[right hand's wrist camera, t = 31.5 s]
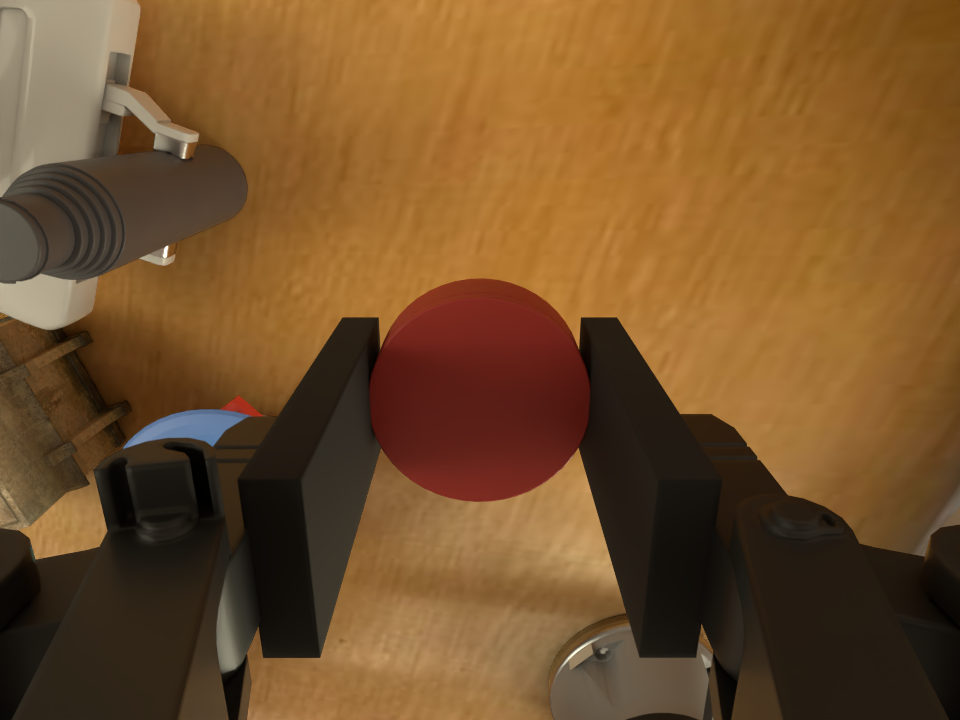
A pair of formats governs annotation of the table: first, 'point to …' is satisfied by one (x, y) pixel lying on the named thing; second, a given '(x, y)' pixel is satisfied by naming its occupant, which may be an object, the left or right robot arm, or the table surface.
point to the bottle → (112, 210)
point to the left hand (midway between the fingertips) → (182, 200)
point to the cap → (479, 391)
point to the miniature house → (47, 420)
